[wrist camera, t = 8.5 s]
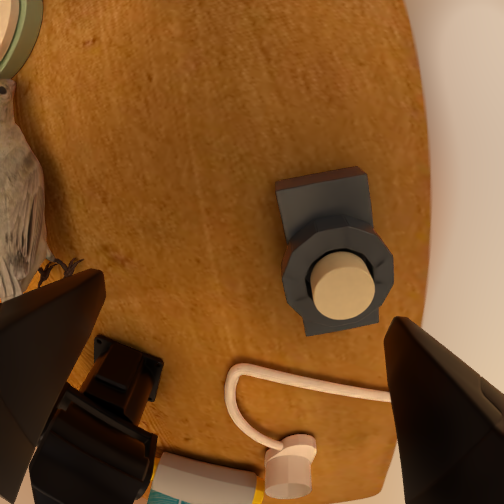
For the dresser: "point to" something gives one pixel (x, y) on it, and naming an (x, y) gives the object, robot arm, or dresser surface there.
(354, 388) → the toilet paper hanger
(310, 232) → the button block
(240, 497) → the soap bottle
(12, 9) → the doll
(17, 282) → the decorative bird
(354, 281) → the button
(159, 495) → the pill bottle
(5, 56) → the turntable base
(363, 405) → the dresser surface
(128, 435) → the robot arm
